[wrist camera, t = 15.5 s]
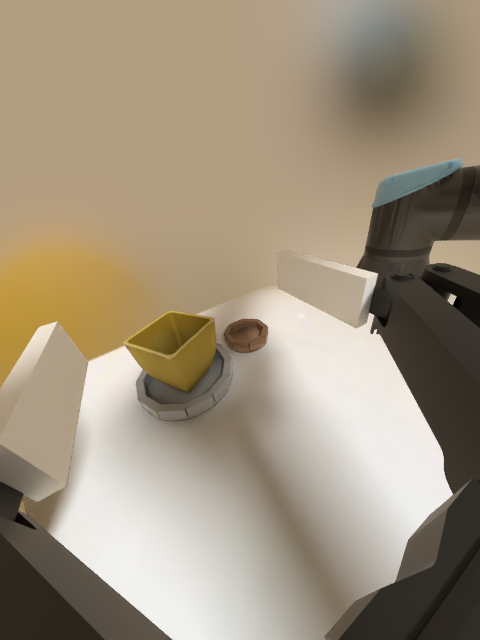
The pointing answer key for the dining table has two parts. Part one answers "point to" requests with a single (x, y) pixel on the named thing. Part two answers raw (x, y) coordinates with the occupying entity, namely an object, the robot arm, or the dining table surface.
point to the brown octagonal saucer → (246, 335)
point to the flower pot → (175, 348)
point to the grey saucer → (180, 404)
